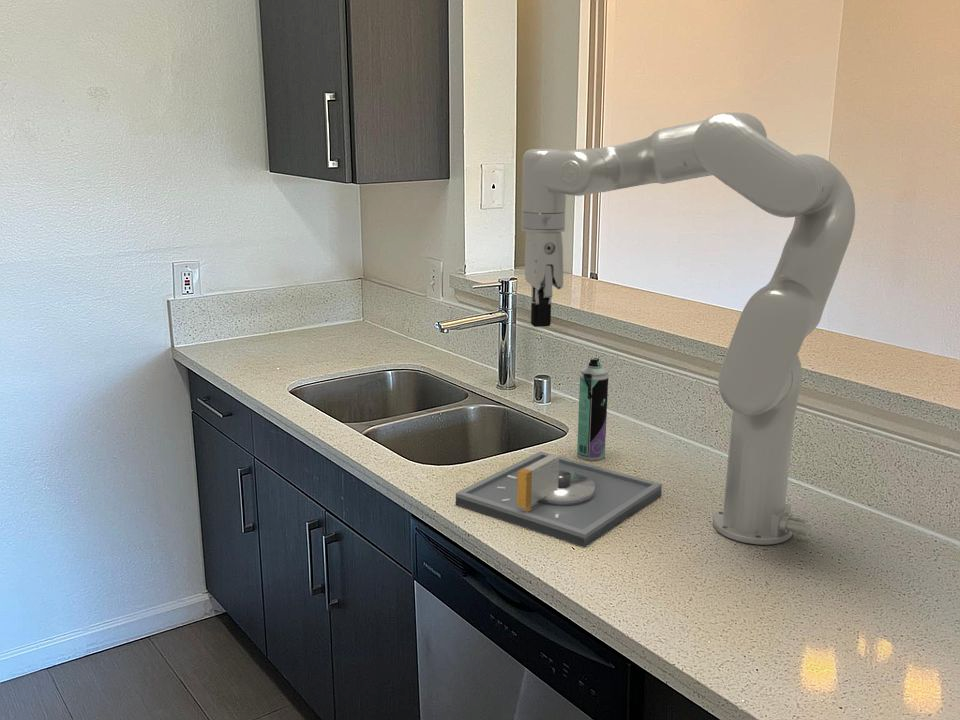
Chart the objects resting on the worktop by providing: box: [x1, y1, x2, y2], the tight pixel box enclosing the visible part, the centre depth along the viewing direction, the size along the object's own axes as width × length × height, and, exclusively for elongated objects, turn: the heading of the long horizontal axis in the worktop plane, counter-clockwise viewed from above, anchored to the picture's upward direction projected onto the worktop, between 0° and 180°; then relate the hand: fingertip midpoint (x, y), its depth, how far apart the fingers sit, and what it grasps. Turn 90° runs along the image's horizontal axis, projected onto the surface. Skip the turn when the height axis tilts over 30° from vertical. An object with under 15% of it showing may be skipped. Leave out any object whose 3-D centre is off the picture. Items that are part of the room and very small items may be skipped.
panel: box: [455, 451, 663, 548], centre depth 161 cm, size 26×26×2 cm
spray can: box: [576, 357, 609, 462], centre depth 180 cm, size 6×6×20 cm
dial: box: [517, 453, 595, 508], centre depth 157 cm, size 18×12×8 cm, turn 143°
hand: (540, 325), depth 164 cm, fingers closed
